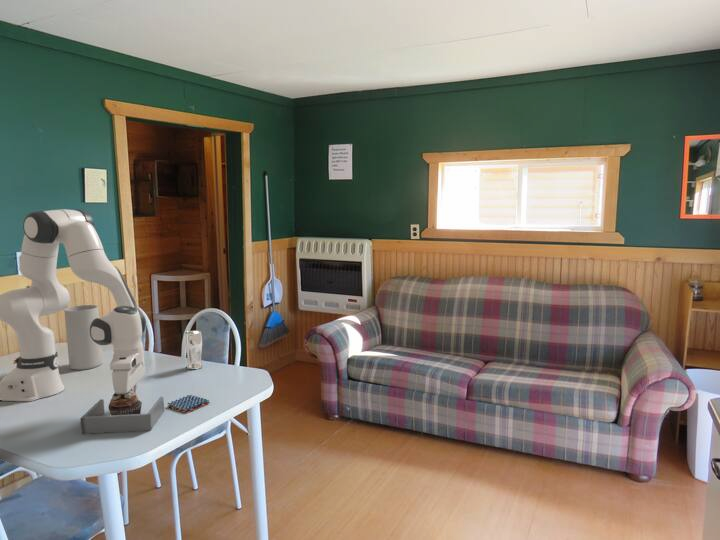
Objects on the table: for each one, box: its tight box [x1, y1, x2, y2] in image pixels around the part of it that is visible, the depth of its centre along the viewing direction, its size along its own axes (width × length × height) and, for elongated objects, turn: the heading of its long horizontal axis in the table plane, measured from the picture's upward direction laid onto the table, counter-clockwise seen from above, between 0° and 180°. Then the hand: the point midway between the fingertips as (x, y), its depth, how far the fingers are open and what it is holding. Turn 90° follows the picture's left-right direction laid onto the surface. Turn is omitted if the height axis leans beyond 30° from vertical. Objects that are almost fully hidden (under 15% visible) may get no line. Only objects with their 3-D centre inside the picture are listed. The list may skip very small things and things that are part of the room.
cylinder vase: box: [63, 304, 103, 371], centre depth 224 cm, size 12×12×25 cm
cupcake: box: [107, 391, 143, 415], centre depth 168 cm, size 10×10×10 cm
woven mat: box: [167, 394, 211, 414], centre depth 180 cm, size 10×11×2 cm
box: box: [80, 396, 165, 435], centre depth 167 cm, size 20×15×5 cm
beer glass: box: [183, 330, 203, 370], centre depth 220 cm, size 7×7×15 cm
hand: (132, 397), depth 174 cm, fingers closed
